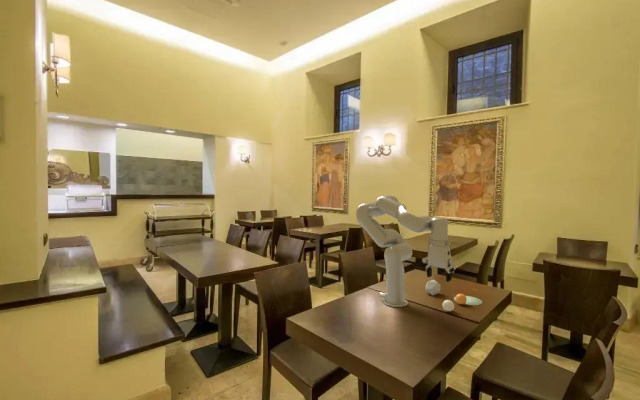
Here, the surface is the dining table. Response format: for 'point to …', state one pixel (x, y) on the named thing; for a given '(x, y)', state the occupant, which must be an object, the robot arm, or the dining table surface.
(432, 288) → the die
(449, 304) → the cue ball
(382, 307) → the dining table surface
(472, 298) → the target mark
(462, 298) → the object ball
